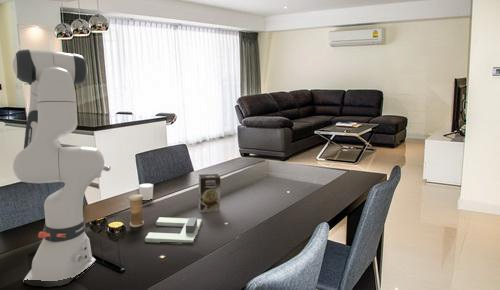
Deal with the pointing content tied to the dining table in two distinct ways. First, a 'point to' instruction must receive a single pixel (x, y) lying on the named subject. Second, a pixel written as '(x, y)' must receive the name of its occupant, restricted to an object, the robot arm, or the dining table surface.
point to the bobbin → (136, 210)
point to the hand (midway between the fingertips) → (105, 171)
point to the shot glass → (146, 191)
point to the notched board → (186, 234)
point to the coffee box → (209, 193)
